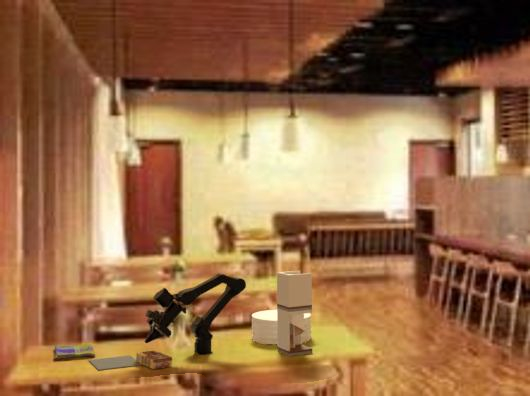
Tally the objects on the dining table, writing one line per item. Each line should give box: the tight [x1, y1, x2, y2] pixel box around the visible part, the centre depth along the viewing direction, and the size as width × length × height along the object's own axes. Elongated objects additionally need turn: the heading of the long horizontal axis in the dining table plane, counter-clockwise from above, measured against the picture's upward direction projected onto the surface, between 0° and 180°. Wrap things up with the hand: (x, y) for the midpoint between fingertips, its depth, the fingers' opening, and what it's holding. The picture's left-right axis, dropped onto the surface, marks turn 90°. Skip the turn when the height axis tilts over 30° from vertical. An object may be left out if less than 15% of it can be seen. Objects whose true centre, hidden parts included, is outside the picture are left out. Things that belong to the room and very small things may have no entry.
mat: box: [88, 354, 143, 372], centre depth 332 cm, size 18×18×1 cm
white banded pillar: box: [276, 270, 313, 357], centre depth 346 cm, size 11×11×35 cm
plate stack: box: [251, 309, 312, 346], centre depth 375 cm, size 28×28×12 cm
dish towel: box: [53, 342, 96, 361], centre depth 350 cm, size 18×24×3 cm
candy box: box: [135, 350, 173, 370], centre depth 328 cm, size 9×4×15 cm
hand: (145, 342), depth 337 cm, fingers closed
